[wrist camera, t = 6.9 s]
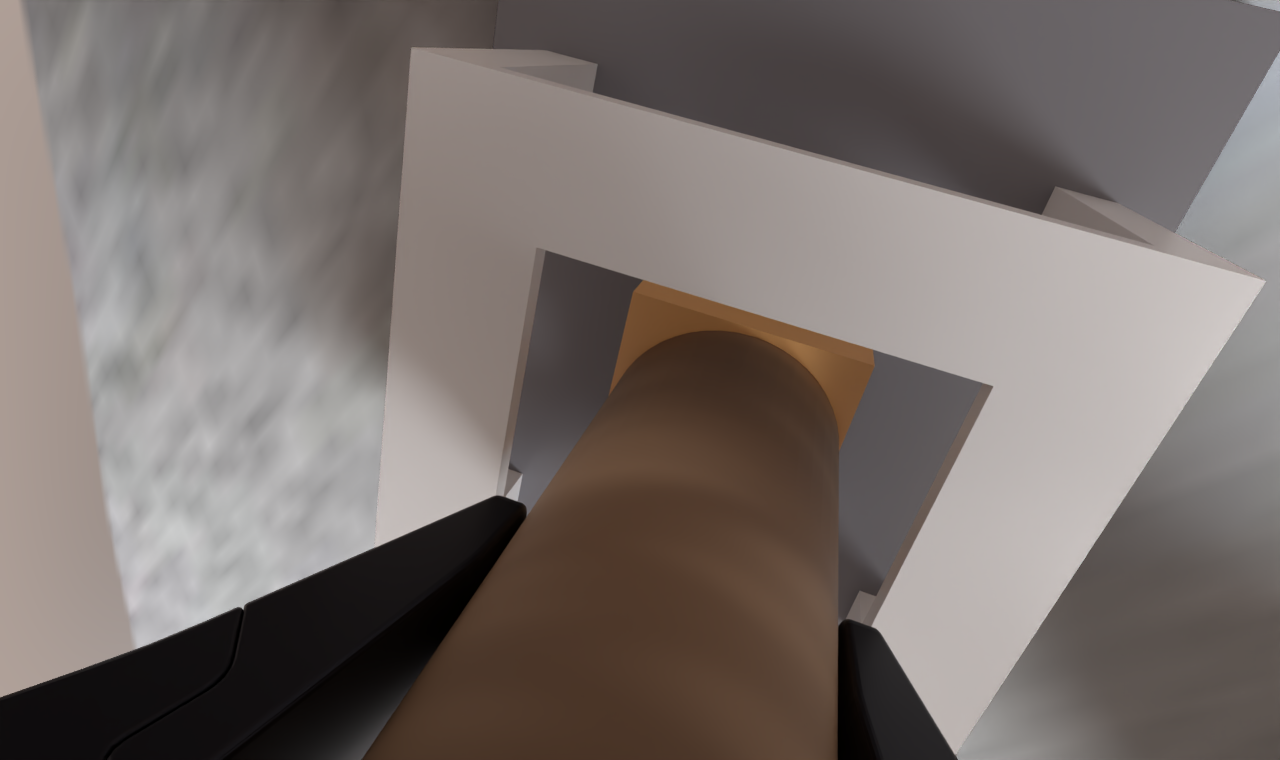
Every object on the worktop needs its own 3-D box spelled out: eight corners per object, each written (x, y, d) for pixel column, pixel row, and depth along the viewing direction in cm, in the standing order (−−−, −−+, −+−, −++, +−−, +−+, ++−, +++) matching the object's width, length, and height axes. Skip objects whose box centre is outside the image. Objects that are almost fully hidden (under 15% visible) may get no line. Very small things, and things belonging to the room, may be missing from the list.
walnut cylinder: (875, 374, 11) (957, 1129, 3) (794, 565, 13) (725, 1351, 5) (635, 299, 12) (211, 804, 4) (589, 494, 14) (235, 1111, 6)
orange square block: (871, 332, 13) (875, 365, 11) (798, 513, 14) (793, 559, 13) (653, 268, 13) (633, 292, 12) (609, 449, 15) (586, 488, 14)
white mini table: (1263, 19, 11) (1602, -11, 6) (879, 707, 18) (895, 949, 13) (540, -148, 13) (348, -280, 8) (447, 549, 20) (316, 714, 15)
